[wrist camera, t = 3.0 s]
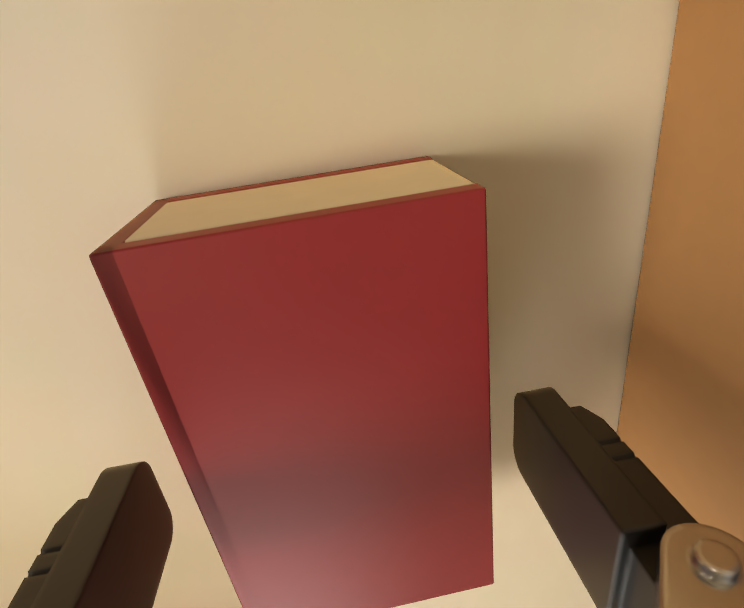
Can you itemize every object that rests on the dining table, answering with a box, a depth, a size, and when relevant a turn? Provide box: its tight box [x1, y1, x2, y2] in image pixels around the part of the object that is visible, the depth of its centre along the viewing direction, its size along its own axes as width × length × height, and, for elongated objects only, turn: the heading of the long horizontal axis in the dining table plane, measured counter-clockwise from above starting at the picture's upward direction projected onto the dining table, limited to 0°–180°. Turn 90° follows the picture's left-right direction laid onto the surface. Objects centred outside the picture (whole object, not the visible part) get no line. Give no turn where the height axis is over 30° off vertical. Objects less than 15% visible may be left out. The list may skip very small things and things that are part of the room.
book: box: [89, 156, 494, 608], centre depth 11 cm, size 10×6×4 cm, turn 7°
